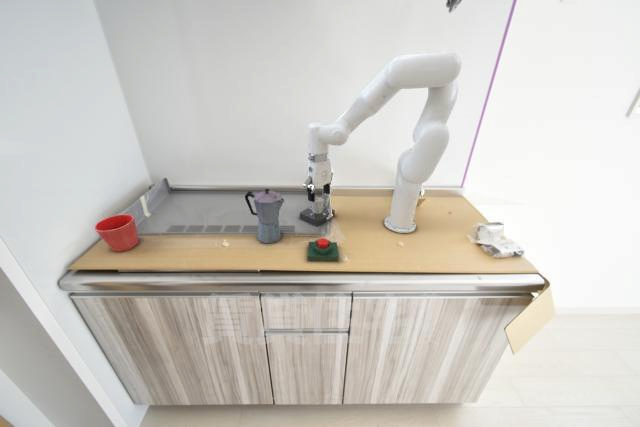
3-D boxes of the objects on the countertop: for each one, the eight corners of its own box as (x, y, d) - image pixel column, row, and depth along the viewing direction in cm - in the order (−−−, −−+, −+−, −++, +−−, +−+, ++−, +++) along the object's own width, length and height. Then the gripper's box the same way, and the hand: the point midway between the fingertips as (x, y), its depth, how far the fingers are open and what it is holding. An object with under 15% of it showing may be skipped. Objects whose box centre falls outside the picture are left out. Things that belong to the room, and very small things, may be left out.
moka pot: (283, 247, 86) (279, 196, 76) (243, 241, 89) (235, 192, 79) (291, 232, 94) (289, 185, 85) (254, 228, 97) (248, 181, 87)
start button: (328, 242, 83) (328, 238, 82) (328, 248, 80) (328, 244, 79) (317, 242, 83) (317, 238, 82) (317, 248, 80) (317, 244, 79)
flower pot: (101, 257, 80) (88, 233, 75) (112, 239, 88) (101, 216, 84) (139, 250, 83) (128, 227, 78) (146, 234, 92) (137, 211, 87)
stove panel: (317, 208, 112) (317, 202, 111) (334, 216, 107) (335, 209, 105) (299, 218, 104) (299, 212, 103) (317, 226, 99) (317, 220, 97)
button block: (336, 247, 87) (337, 238, 85) (337, 261, 80) (338, 252, 78) (308, 246, 87) (308, 237, 85) (307, 261, 80) (307, 251, 78)
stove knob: (325, 210, 104) (325, 198, 101) (318, 215, 101) (318, 202, 98) (316, 207, 107) (317, 195, 104) (309, 211, 104) (309, 199, 101)
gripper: (310, 163, 84) (312, 207, 93) (339, 153, 96) (338, 192, 104) (295, 160, 89) (298, 201, 97) (325, 150, 100) (325, 188, 108)
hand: (319, 197), depth 100 cm, fingers open, 9 cm apart
